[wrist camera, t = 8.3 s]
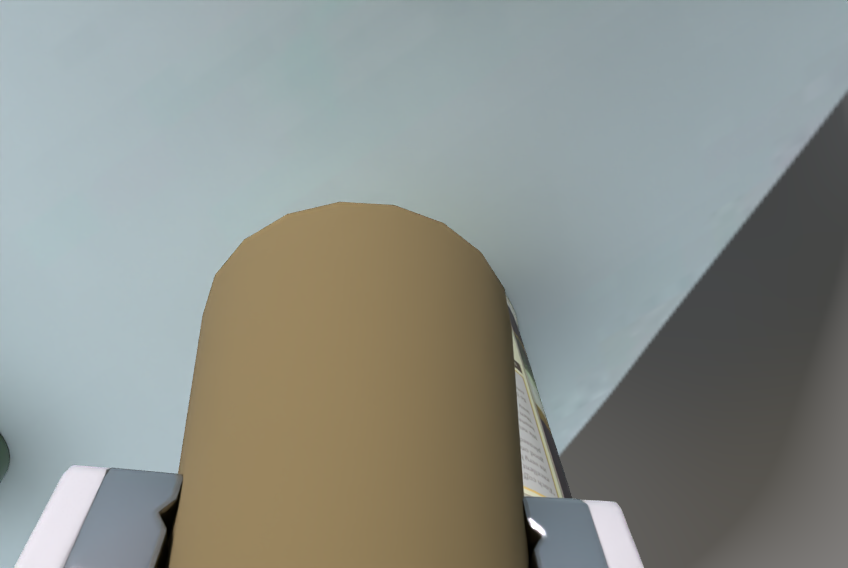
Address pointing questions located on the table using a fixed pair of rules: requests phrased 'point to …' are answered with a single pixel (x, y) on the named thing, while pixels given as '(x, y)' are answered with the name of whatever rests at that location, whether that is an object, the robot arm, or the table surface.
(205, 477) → the cork
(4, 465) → the olive tin
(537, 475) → the coffee can
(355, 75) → the table surface
